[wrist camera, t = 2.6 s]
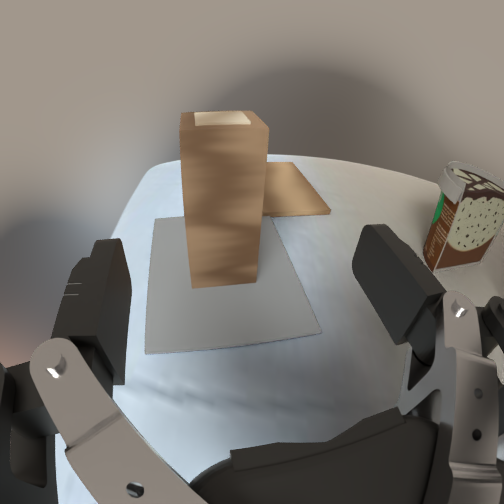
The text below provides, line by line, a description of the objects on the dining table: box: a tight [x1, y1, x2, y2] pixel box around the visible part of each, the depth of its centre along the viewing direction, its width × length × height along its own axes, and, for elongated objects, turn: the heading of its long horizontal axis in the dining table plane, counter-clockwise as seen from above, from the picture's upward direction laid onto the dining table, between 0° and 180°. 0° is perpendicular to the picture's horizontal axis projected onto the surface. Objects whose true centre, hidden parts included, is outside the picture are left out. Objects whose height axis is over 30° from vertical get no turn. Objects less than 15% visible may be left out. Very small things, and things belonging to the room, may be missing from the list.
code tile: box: [145, 216, 322, 354], centre depth 25 cm, size 12×16×1 cm
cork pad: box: [262, 162, 331, 217], centre depth 36 cm, size 12×14×1 cm
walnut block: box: [179, 111, 269, 289], centre depth 21 cm, size 5×5×12 cm
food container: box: [423, 161, 504, 272], centre depth 26 cm, size 12×6×10 cm, turn 101°
